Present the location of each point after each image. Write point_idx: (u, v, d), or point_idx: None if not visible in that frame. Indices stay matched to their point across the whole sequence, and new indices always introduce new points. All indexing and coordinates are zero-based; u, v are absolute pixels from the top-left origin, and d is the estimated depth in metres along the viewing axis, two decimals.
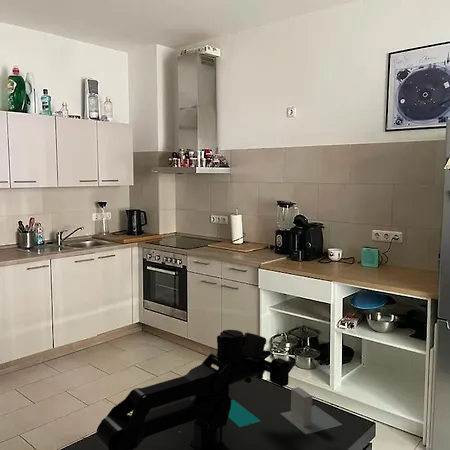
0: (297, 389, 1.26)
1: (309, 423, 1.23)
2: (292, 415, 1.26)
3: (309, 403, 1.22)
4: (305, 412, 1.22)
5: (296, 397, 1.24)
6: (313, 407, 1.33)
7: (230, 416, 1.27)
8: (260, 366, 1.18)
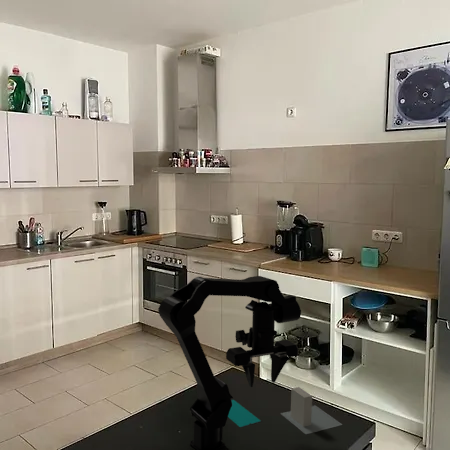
0: (297, 389, 1.26)
1: (309, 423, 1.23)
2: (292, 415, 1.26)
3: (309, 403, 1.22)
4: (305, 412, 1.22)
5: (296, 397, 1.24)
6: (313, 407, 1.33)
7: (230, 416, 1.27)
8: None
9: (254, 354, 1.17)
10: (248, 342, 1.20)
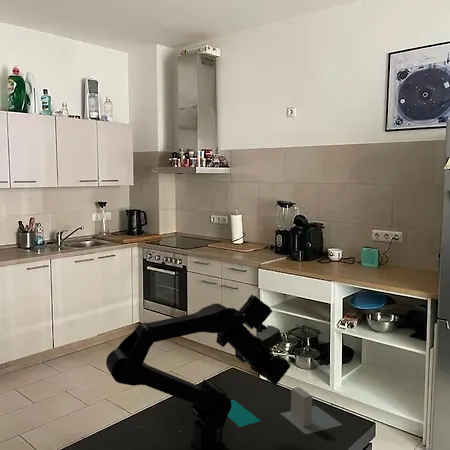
0: (297, 389, 1.26)
1: (309, 423, 1.23)
2: (292, 415, 1.26)
3: (309, 403, 1.22)
4: (305, 412, 1.22)
5: (296, 397, 1.24)
6: (313, 407, 1.33)
7: (230, 416, 1.27)
8: (262, 355, 1.14)
9: None
10: None
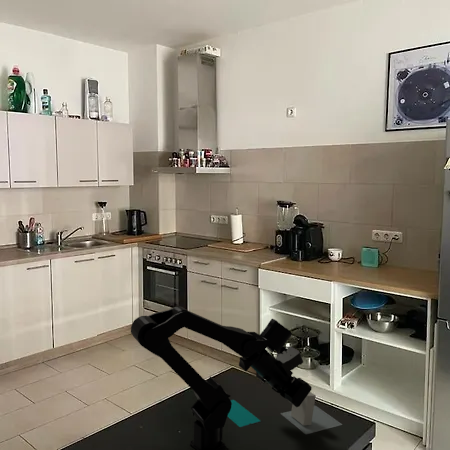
0: None
1: (309, 423, 1.23)
2: (292, 414, 1.26)
3: (312, 402, 1.22)
4: (307, 411, 1.22)
5: None
6: None
7: (230, 416, 1.27)
8: (283, 377, 1.18)
9: None
10: None
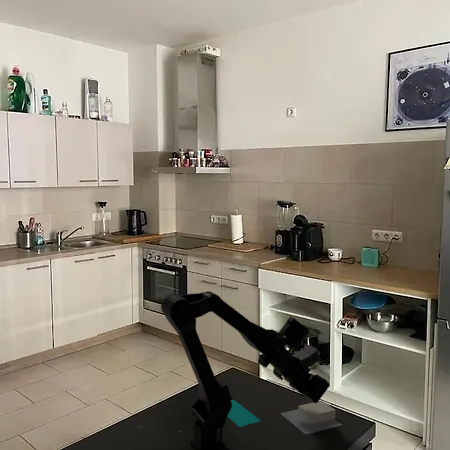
0: None
1: (312, 422, 1.23)
2: (302, 406, 1.28)
3: (329, 417, 1.25)
4: (322, 414, 1.24)
5: (323, 405, 1.29)
6: None
7: (230, 416, 1.27)
8: (301, 374, 1.20)
9: None
10: None
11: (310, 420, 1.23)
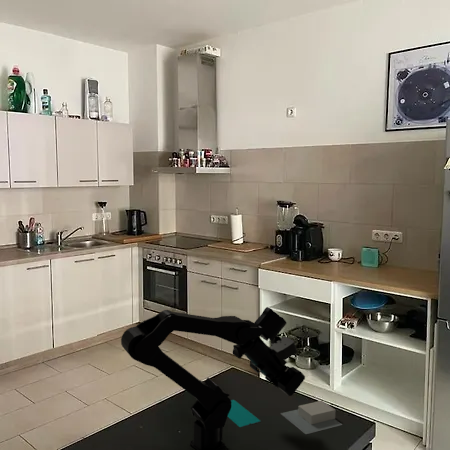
0: None
1: (312, 422, 1.23)
2: (302, 406, 1.28)
3: (329, 417, 1.25)
4: (322, 414, 1.24)
5: (323, 405, 1.29)
6: None
7: (230, 416, 1.27)
8: (277, 366, 1.17)
9: None
10: None
11: (310, 420, 1.23)
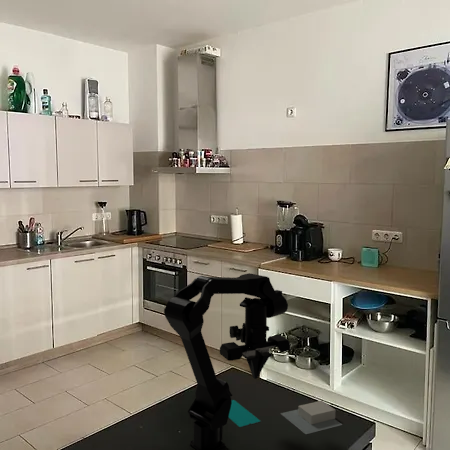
0: None
1: (312, 422, 1.23)
2: (302, 406, 1.28)
3: (329, 417, 1.25)
4: (322, 414, 1.24)
5: (323, 405, 1.29)
6: None
7: (230, 416, 1.27)
8: None
9: (247, 349, 1.21)
10: (241, 337, 1.24)
11: (310, 420, 1.23)
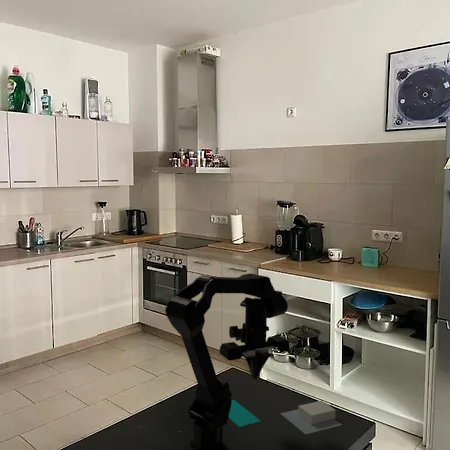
0: None
1: (312, 422, 1.23)
2: (302, 406, 1.28)
3: (329, 417, 1.25)
4: (322, 414, 1.24)
5: (323, 405, 1.29)
6: None
7: (230, 416, 1.27)
8: None
9: (247, 349, 1.21)
10: (241, 337, 1.24)
11: (310, 420, 1.23)
